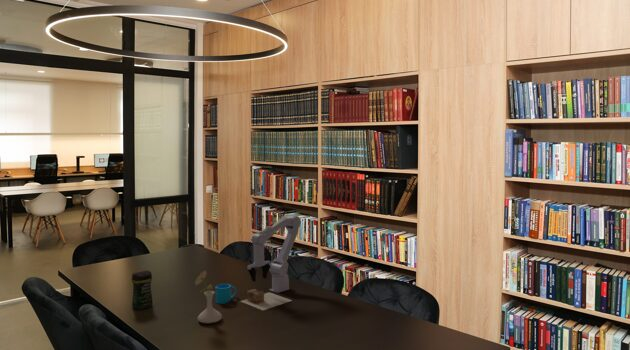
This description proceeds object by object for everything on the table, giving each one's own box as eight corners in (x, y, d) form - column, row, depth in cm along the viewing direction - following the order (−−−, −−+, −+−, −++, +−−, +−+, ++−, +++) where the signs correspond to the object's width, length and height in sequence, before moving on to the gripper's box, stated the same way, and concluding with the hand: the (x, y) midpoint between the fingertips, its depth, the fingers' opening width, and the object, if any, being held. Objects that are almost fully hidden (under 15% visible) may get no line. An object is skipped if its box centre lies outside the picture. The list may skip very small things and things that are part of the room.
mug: (220, 304, 240) (220, 289, 239) (213, 300, 246) (212, 285, 246) (240, 299, 248) (240, 285, 247) (232, 295, 254) (232, 281, 253)
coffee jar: (137, 311, 231) (136, 275, 230) (130, 307, 236) (128, 272, 235) (155, 306, 238) (154, 271, 237) (147, 302, 243) (146, 268, 242)
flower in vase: (212, 314, 227) (211, 264, 225) (227, 320, 219) (226, 268, 218) (189, 322, 217) (188, 270, 215) (204, 328, 209) (203, 275, 207)
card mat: (269, 293, 258) (269, 292, 258) (292, 301, 245) (292, 300, 245) (240, 302, 244) (240, 301, 243) (263, 311, 230) (263, 310, 230)
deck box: (264, 301, 243) (263, 292, 243) (256, 303, 239) (256, 294, 239) (254, 297, 249) (254, 288, 248) (247, 300, 245) (247, 291, 245)
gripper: (264, 251, 259) (264, 275, 260) (243, 256, 249) (244, 281, 250) (272, 253, 254) (272, 277, 255) (251, 258, 244) (252, 283, 245)
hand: (259, 279), depth 252 cm, fingers open, 7 cm apart
